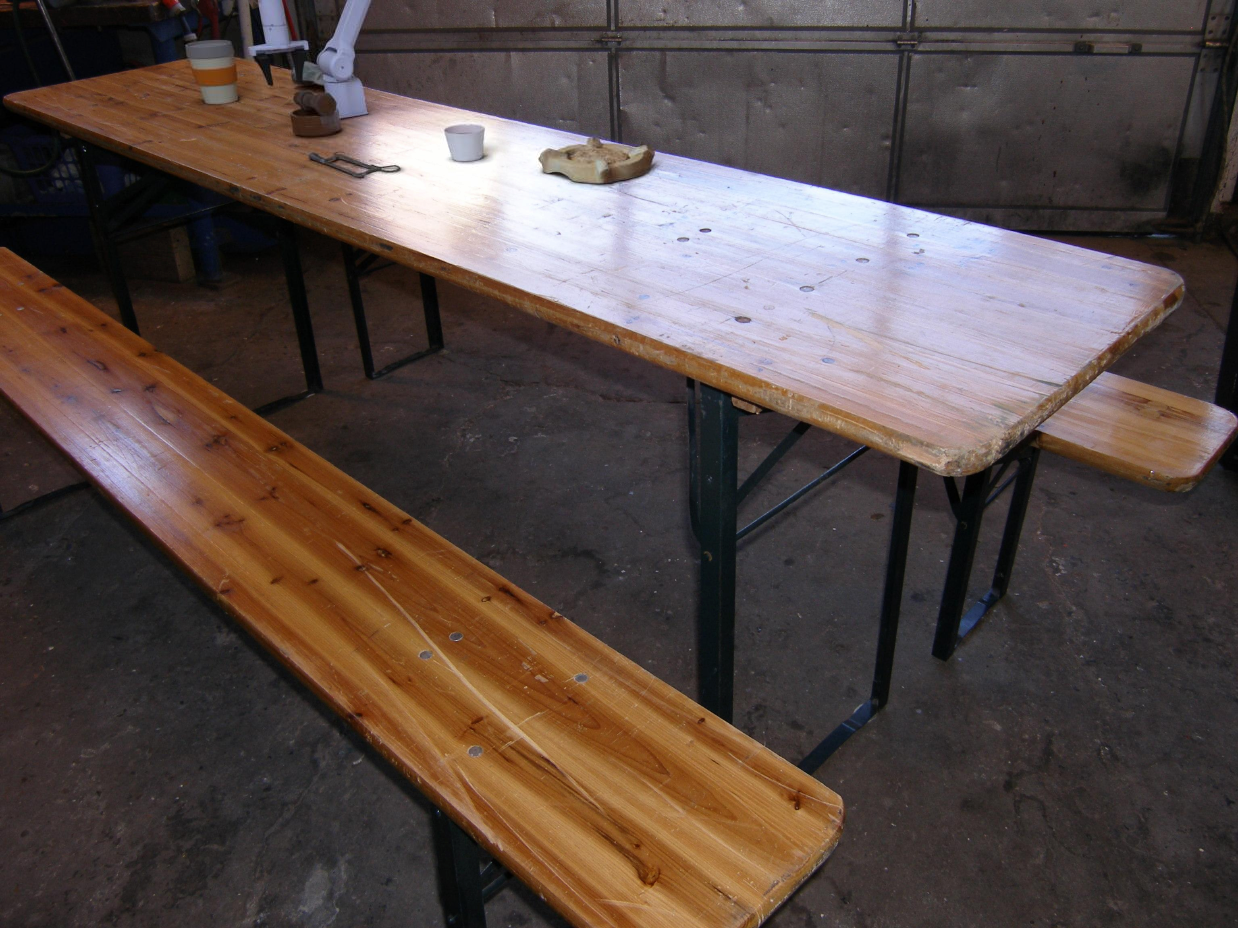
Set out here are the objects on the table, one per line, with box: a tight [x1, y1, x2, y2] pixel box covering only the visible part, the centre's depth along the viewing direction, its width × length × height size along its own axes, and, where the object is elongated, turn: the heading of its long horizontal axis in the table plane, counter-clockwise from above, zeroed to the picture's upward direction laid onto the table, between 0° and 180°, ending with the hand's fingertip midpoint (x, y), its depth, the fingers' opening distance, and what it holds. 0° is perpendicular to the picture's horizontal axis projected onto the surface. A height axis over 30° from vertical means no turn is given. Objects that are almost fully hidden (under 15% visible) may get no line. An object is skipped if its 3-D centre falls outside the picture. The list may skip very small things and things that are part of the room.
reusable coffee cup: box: [185, 39, 239, 105], centre depth 270 cm, size 13×13×15 cm
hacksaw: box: [308, 151, 401, 178], centre depth 215 cm, size 24×10×2 cm, turn 44°
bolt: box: [292, 89, 337, 117], centre depth 237 cm, size 6×5×15 cm
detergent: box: [290, 60, 356, 87], centre depth 282 cm, size 13×7×25 cm
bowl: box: [289, 107, 342, 138], centre depth 240 cm, size 12×12×5 cm
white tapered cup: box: [443, 123, 486, 162], centre depth 217 cm, size 9×9×6 cm
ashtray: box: [537, 136, 656, 184], centre depth 207 cm, size 24×24×5 cm
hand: (285, 83), depth 244 cm, fingers open, 7 cm apart
